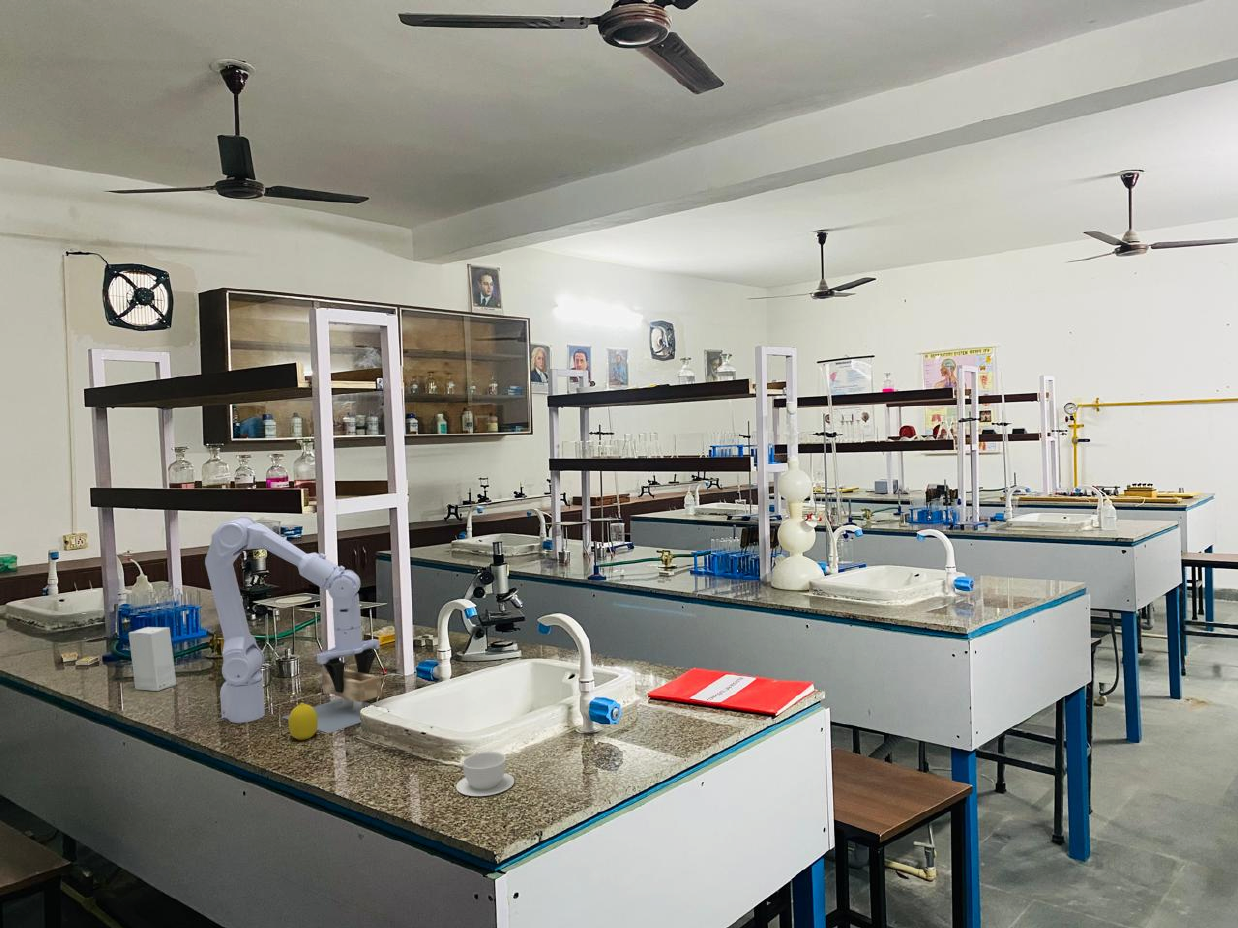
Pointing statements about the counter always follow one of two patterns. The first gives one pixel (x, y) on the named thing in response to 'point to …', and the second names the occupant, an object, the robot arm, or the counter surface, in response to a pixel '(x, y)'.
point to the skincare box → (152, 658)
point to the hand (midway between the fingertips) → (351, 688)
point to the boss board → (338, 714)
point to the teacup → (484, 775)
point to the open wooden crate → (355, 685)
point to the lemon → (303, 722)
